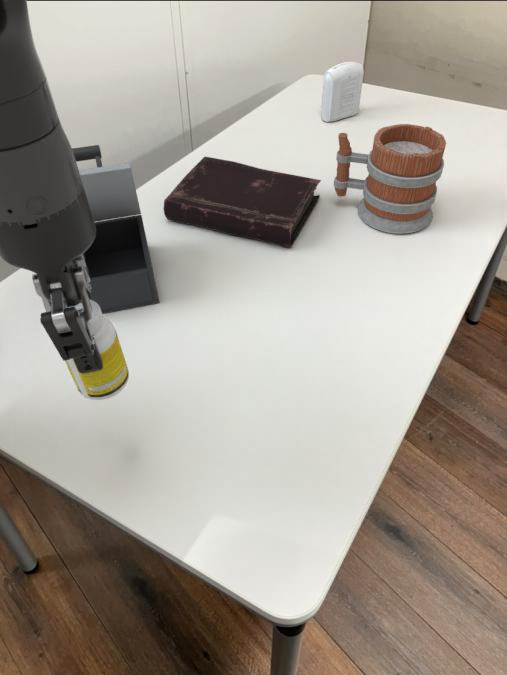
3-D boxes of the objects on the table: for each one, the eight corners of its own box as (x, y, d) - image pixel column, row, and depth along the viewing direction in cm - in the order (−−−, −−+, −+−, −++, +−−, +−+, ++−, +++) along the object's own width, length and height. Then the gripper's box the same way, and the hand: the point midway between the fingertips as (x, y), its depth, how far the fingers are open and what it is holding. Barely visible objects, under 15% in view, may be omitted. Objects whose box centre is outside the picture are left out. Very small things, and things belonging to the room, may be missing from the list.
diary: (289, 252, 90) (290, 228, 87) (165, 223, 97) (161, 200, 94) (320, 198, 102) (322, 175, 98) (208, 176, 109) (206, 154, 105)
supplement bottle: (140, 373, 54) (120, 305, 47) (106, 410, 51) (78, 343, 43) (102, 354, 56) (76, 286, 49) (66, 389, 53) (33, 321, 45)
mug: (428, 241, 92) (450, 163, 81) (323, 224, 96) (330, 148, 85) (435, 200, 101) (455, 125, 90) (338, 186, 105) (346, 113, 94)
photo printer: (350, 108, 131) (356, 56, 122) (361, 114, 128) (368, 61, 119) (317, 118, 127) (321, 65, 118) (328, 124, 125) (332, 70, 115)
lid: (130, 168, 71) (123, 132, 72) (37, 181, 69) (30, 145, 70) (141, 214, 87) (135, 185, 88) (65, 226, 85) (60, 196, 86)
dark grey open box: (159, 303, 82) (152, 270, 77) (79, 318, 80) (67, 285, 75) (148, 246, 92) (141, 214, 87) (77, 258, 90) (66, 226, 85)
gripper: (-17, 151, 41) (50, 305, 53) (-38, 257, 31) (50, 414, 44) (78, 137, 42) (122, 291, 55) (85, 236, 33) (137, 395, 45)
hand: (90, 345), depth 49 cm, fingers closed on supplement bottle, 5 cm apart
